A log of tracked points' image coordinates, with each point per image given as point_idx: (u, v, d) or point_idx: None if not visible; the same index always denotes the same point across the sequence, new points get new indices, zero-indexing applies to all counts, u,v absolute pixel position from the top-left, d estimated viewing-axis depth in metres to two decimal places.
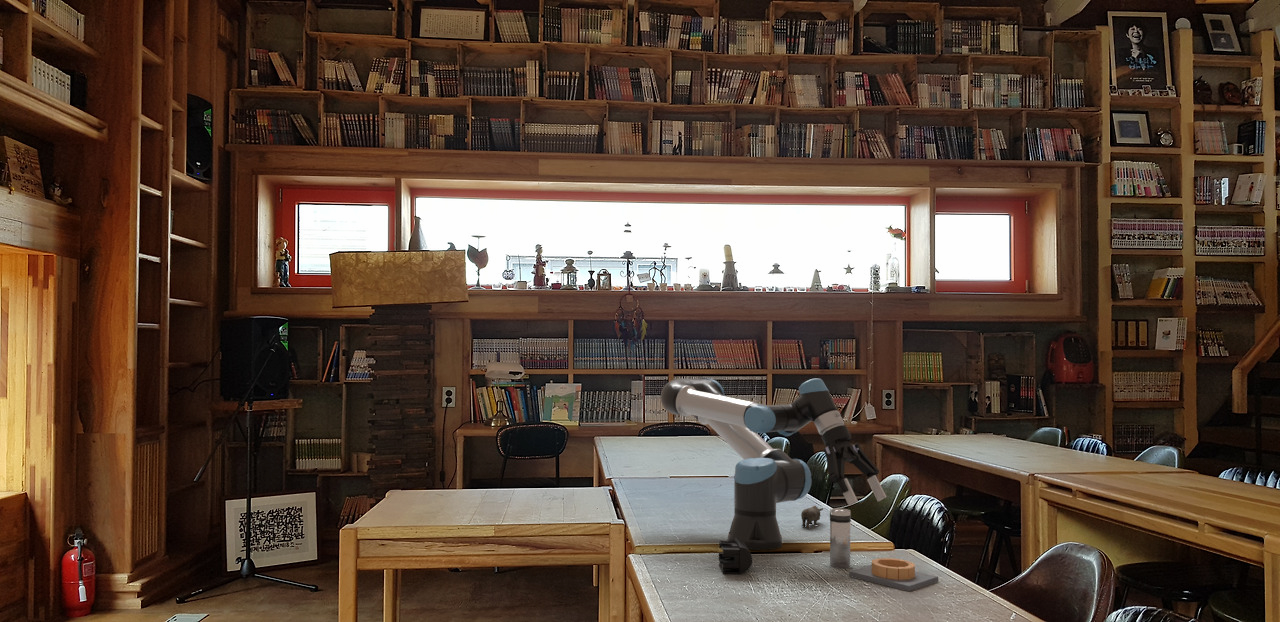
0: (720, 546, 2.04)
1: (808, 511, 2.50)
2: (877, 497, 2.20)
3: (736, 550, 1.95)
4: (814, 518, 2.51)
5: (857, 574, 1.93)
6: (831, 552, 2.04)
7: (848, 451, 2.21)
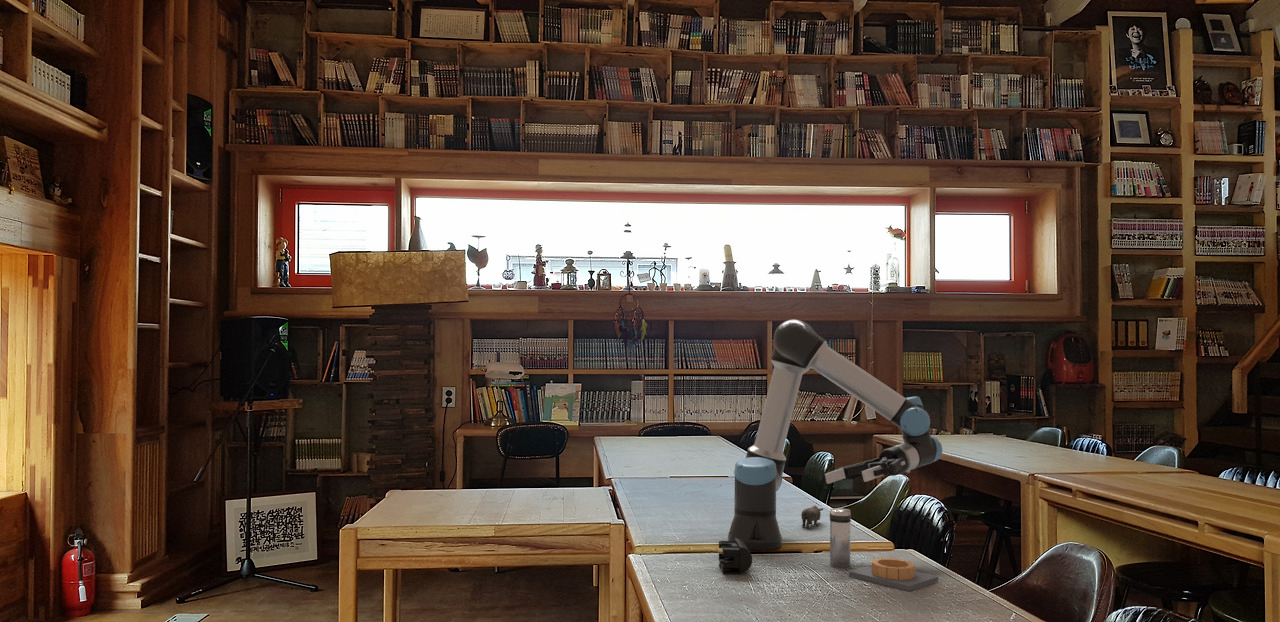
0: (720, 546, 2.04)
1: (808, 511, 2.50)
2: (829, 474, 2.19)
3: (736, 550, 1.95)
4: (814, 518, 2.51)
5: (857, 574, 1.93)
6: (831, 552, 2.04)
7: None
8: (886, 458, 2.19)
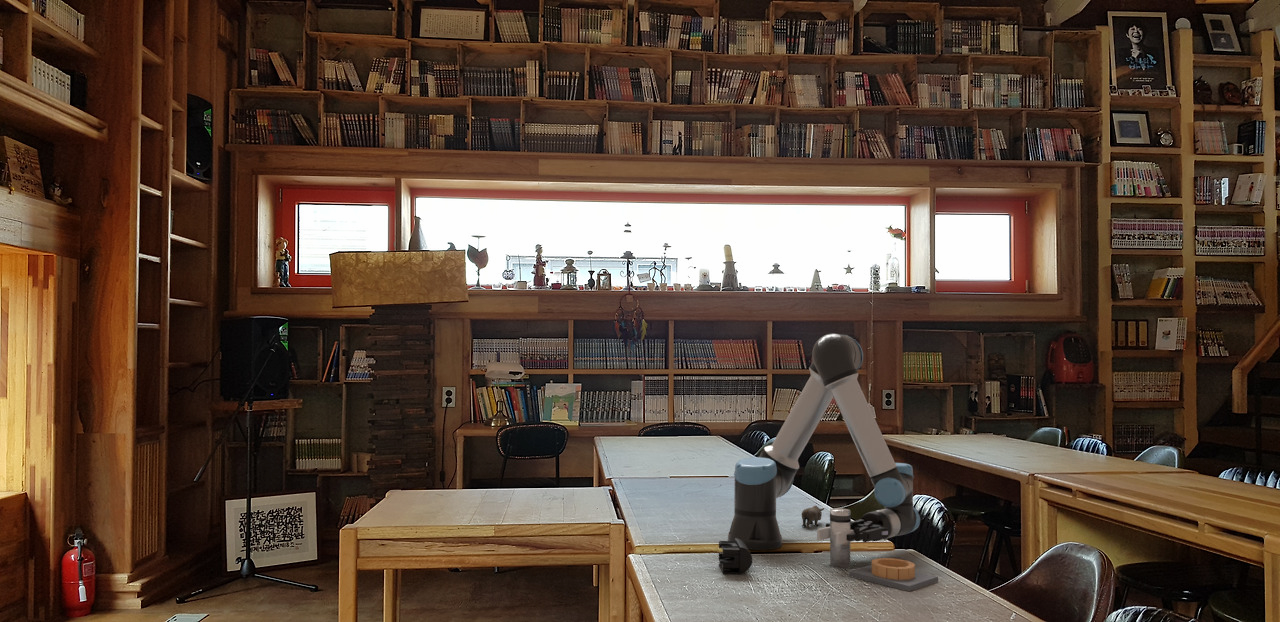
0: (720, 546, 2.04)
1: (808, 511, 2.50)
2: (821, 531, 2.04)
3: (736, 550, 1.95)
4: (814, 518, 2.51)
5: (857, 574, 1.93)
6: (831, 552, 2.04)
7: None
8: (870, 523, 2.11)
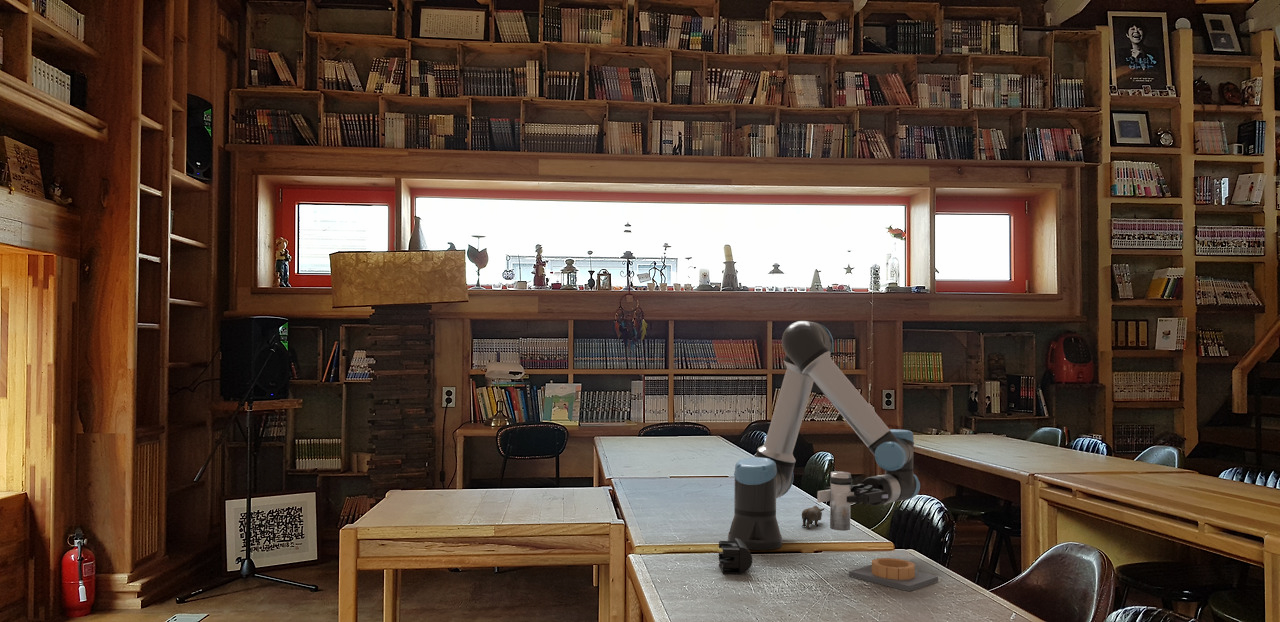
0: (720, 546, 2.04)
1: (808, 511, 2.50)
2: (822, 493, 2.05)
3: (736, 550, 1.95)
4: (814, 518, 2.51)
5: (857, 574, 1.93)
6: (831, 514, 2.05)
7: None
8: (871, 487, 2.11)
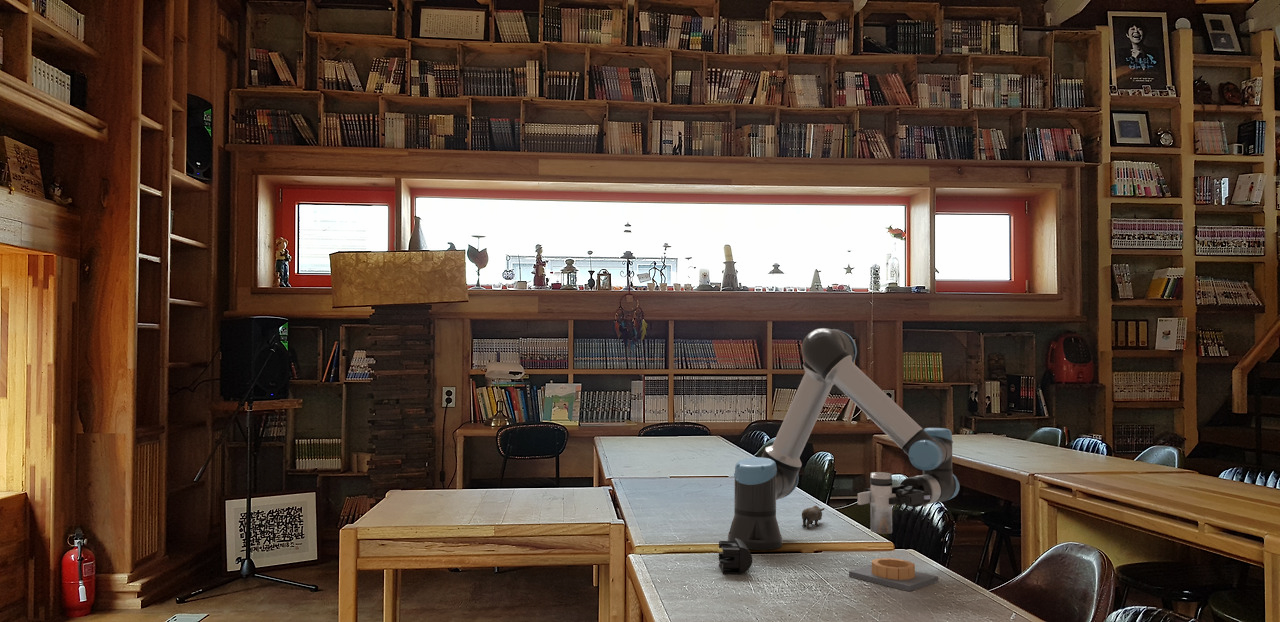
0: (720, 546, 2.04)
1: (808, 511, 2.50)
2: (862, 495, 1.96)
3: (736, 550, 1.95)
4: (815, 518, 2.51)
5: (857, 574, 1.93)
6: (872, 517, 1.96)
7: None
8: (911, 487, 2.03)
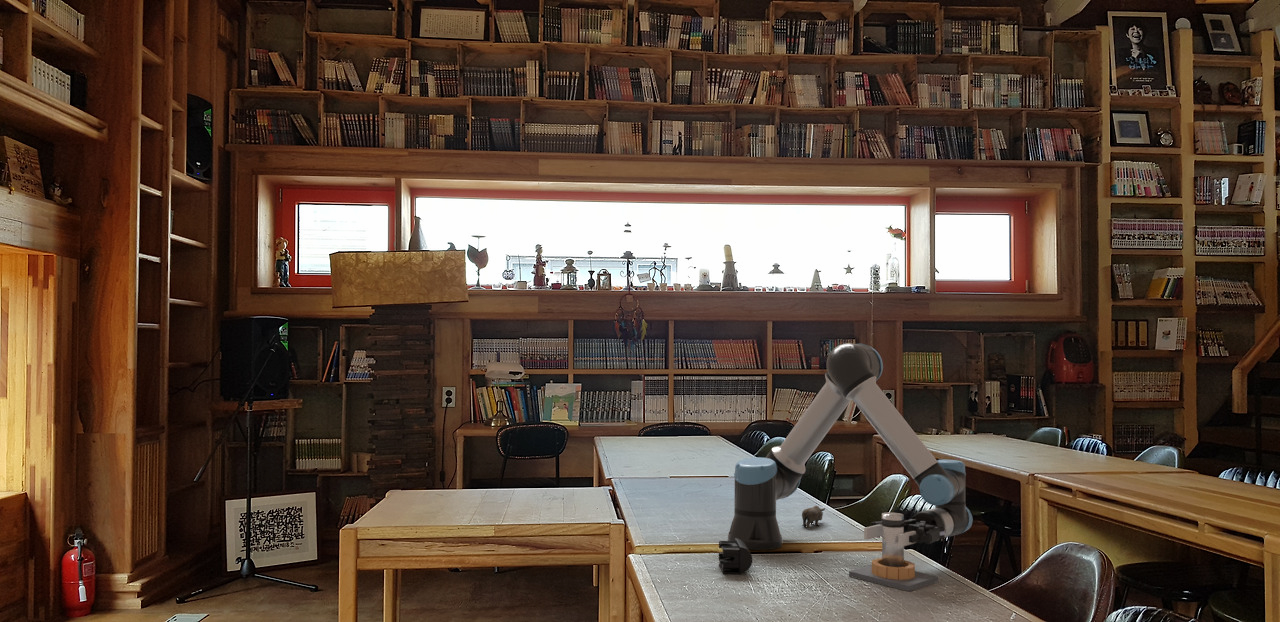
0: (720, 546, 2.04)
1: (808, 511, 2.50)
2: (869, 529, 1.95)
3: (736, 550, 1.95)
4: (815, 518, 2.51)
5: (857, 574, 1.93)
6: (884, 559, 1.93)
7: None
8: (925, 523, 1.99)
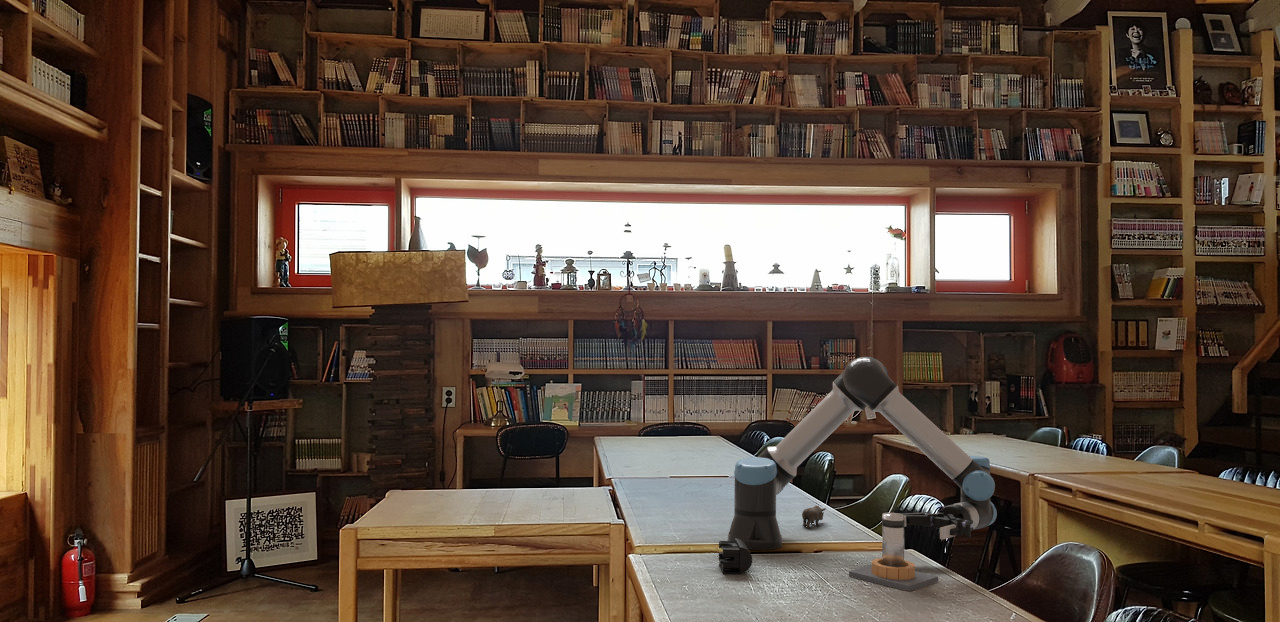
0: (720, 546, 2.04)
1: (809, 511, 2.50)
2: None
3: (736, 550, 1.95)
4: (815, 518, 2.51)
5: (857, 574, 1.93)
6: (884, 559, 1.93)
7: None
8: (953, 516, 2.08)
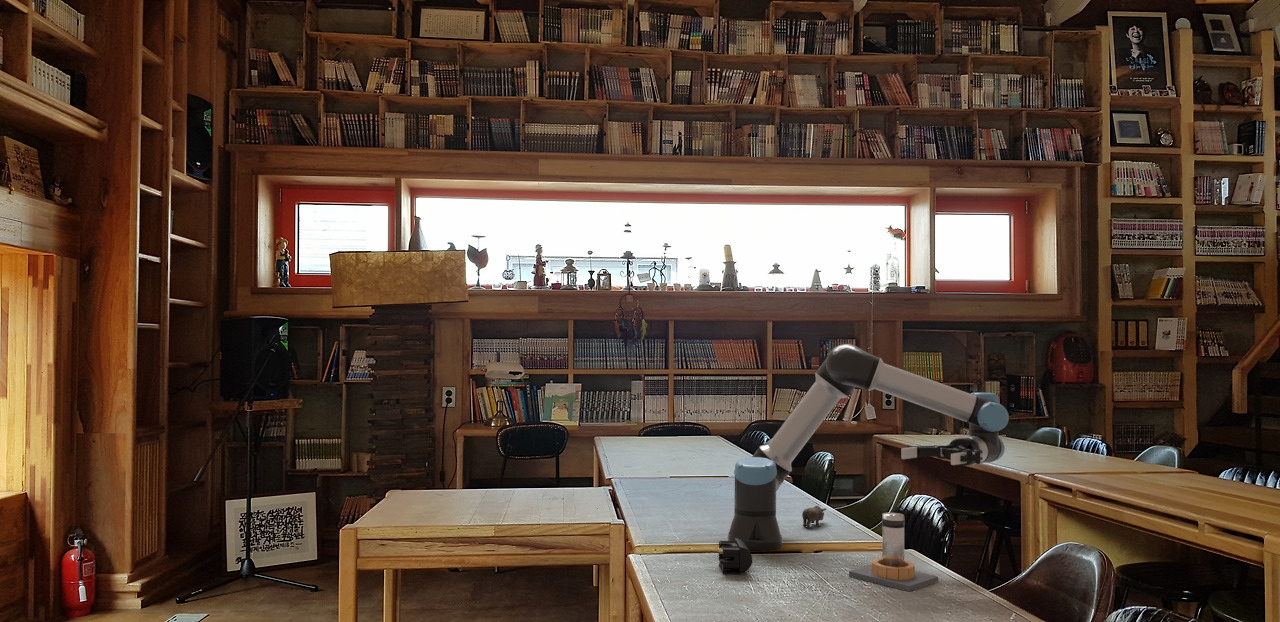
0: (720, 546, 2.04)
1: (809, 511, 2.50)
2: (905, 450, 2.11)
3: (736, 550, 1.95)
4: (815, 518, 2.51)
5: (857, 574, 1.93)
6: (884, 559, 1.93)
7: None
8: (963, 447, 2.13)
